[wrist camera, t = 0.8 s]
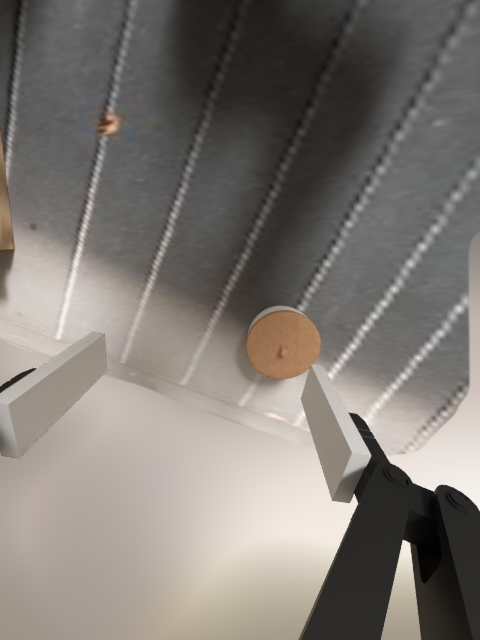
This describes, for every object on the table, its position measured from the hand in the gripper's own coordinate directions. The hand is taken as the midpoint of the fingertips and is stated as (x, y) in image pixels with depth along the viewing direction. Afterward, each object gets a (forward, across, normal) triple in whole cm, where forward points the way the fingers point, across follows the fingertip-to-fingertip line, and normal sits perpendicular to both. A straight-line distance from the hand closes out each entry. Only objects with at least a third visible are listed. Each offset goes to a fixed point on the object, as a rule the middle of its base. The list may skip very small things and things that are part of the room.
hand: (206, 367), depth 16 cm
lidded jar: (+26, +9, -6) cm, 28 cm away
